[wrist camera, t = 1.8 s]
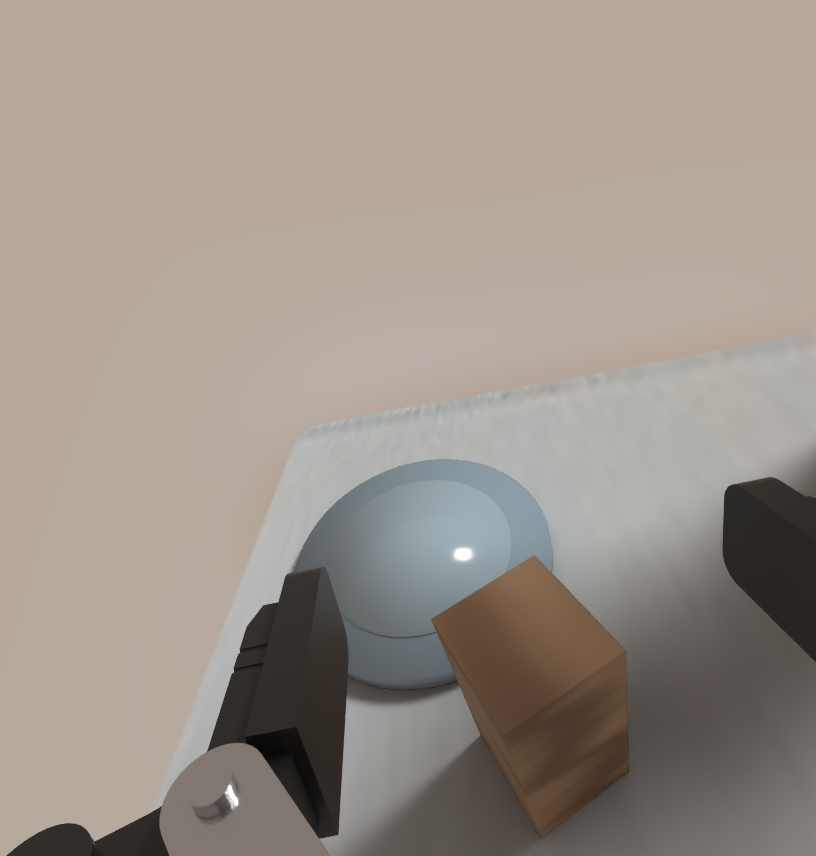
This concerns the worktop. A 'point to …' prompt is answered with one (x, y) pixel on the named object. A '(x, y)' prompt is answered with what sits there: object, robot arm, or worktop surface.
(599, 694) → the walnut block
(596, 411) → the worktop surface
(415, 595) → the slate plate
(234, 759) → the robot arm
